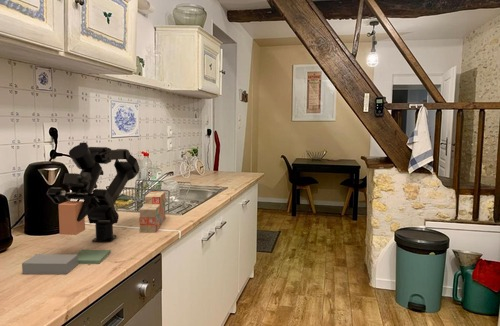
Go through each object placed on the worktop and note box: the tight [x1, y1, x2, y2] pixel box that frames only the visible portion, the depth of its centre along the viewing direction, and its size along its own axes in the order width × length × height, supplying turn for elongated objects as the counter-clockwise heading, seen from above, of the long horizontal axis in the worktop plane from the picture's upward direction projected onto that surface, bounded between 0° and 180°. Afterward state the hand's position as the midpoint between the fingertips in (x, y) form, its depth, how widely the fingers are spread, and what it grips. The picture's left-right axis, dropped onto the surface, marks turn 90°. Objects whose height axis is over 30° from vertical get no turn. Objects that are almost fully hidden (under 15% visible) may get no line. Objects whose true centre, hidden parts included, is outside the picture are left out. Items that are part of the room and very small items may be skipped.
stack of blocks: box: [139, 191, 166, 234], centre depth 147 cm, size 21×6×12 cm, turn 4°
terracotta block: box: [58, 200, 86, 236], centre depth 108 cm, size 5×5×9 cm
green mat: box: [76, 249, 112, 265], centre depth 111 cm, size 9×9×1 cm
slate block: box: [21, 253, 79, 275], centre depth 102 cm, size 7×12×3 cm, turn 91°
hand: (69, 220), depth 107 cm, fingers closed on terracotta block, 5 cm apart
